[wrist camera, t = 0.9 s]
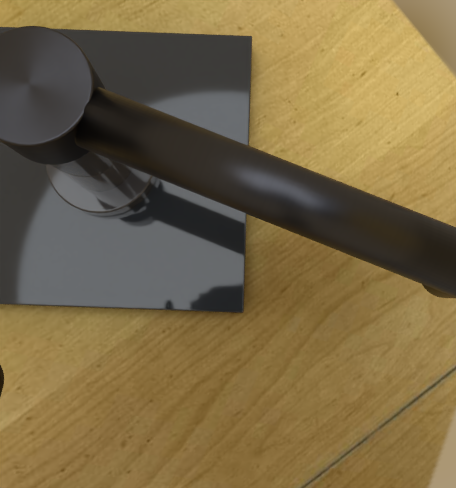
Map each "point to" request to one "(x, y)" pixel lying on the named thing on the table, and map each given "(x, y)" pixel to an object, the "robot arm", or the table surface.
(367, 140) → the table surface
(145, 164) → the spout
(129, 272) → the black flat block
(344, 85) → the table surface
